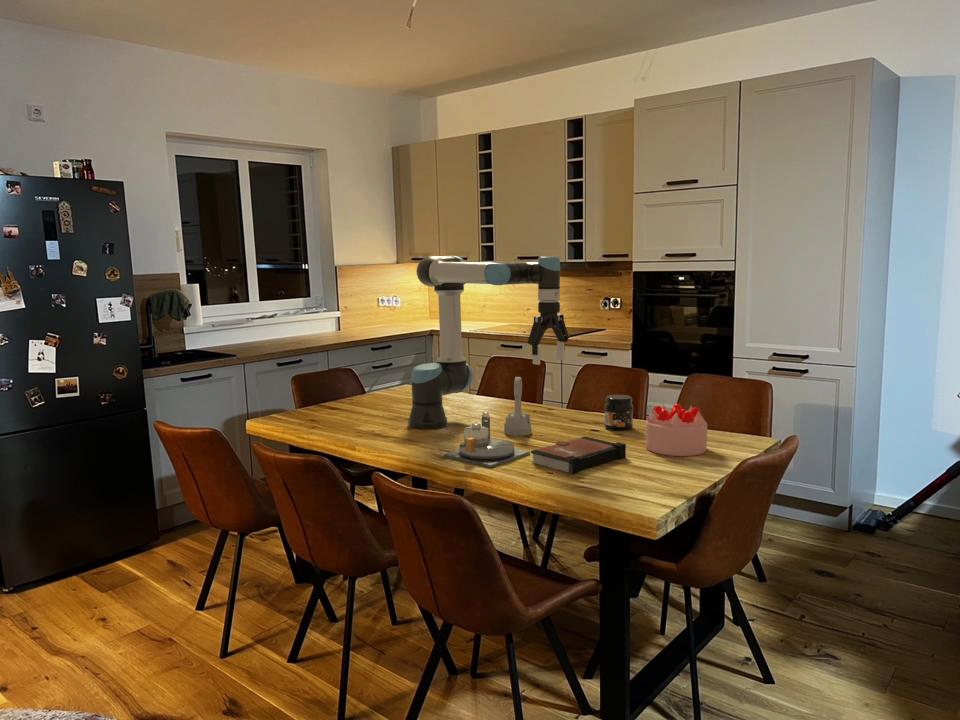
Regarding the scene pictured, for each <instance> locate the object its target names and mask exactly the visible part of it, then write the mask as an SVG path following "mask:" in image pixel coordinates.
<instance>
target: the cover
mask: <svg viewBox="0 0 960 720" xmlns="http://www.w3.org/2000/svg"><path fill="white" fill-rule="evenodd" d="M467 438H475V447H481V446H486V445H488V428H487V427H483V426H482V423H471V426H467V427H465V428H463V442H464V444H465V445H466V439H467Z"/></svg>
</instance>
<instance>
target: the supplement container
mask: <svg viewBox="0 0 960 720" xmlns="http://www.w3.org/2000/svg"><path fill="white" fill-rule="evenodd" d="M632 397H633V396H631V395H628V394H627V395H626V394H609V395H607V396H606V397H605V402H606V403H605V405H604V427H605V429H607V430H608V431H609V430H610V431H614V432H625V431H630V430H631V429H632V428H633V427H634V424H633V422H634V420H633V416H634V415H633V414H634V406H633V404H632V403H633V398H632Z"/></svg>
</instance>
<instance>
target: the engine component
mask: <svg viewBox="0 0 960 720" xmlns="http://www.w3.org/2000/svg"><path fill="white" fill-rule="evenodd" d="M514 377H515V378H514V381H513V395H514V412H509V413H508V416H507V417H505V423H504V424H503V426H504V427H503V429H504V430H503V432H504V434H505V435H508V436H528V435H530V434H532V422H531V419H530V418H531V417H530V415H531V414H529V413H527V412H522V393H523V380H522V377H521V376H514Z"/></svg>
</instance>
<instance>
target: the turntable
mask: <svg viewBox="0 0 960 720" xmlns="http://www.w3.org/2000/svg"><path fill="white" fill-rule="evenodd" d="M514 448H515V444H514V443H513V442H510V441H508V440H503V439H498V438H490V439H488V445H486V446H481V447H475V438H467V439H466V445H465V444H464V441H463V442H461V443H460V444H459V445H458V449H459V453H460V454H461V455H462V456H464V457H468V458H473V459H499V458H505V457H508V456H511V455H513V454H514Z"/></svg>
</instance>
